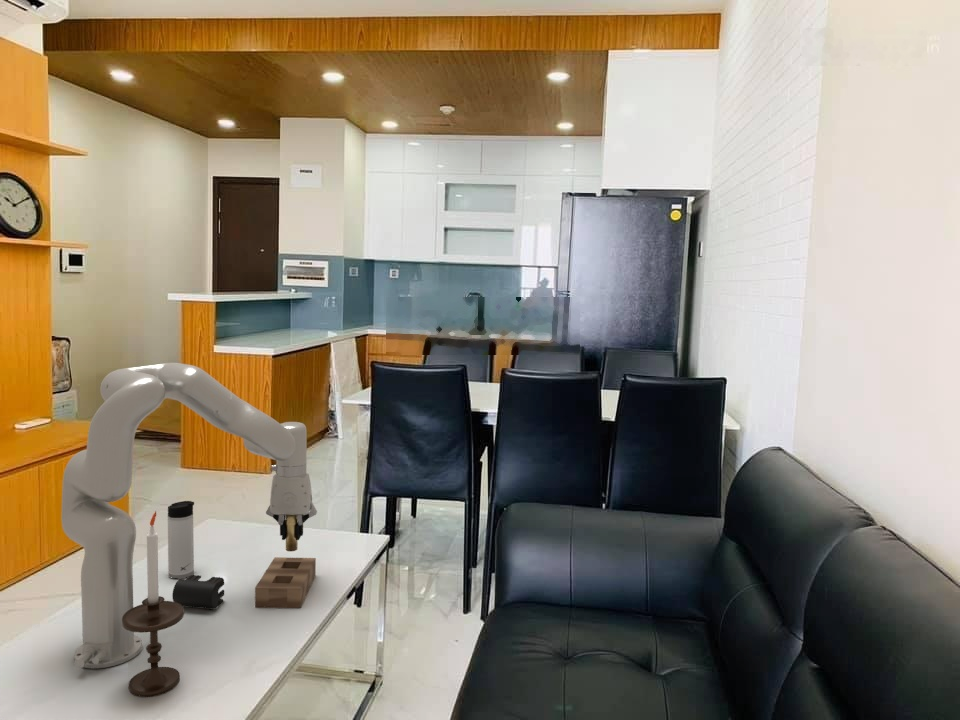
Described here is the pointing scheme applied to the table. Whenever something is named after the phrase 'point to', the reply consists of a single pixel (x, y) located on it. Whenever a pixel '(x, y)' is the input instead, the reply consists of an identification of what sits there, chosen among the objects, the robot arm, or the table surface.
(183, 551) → the travel mug
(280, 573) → the hole block
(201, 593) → the end cap
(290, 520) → the brass peg
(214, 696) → the table surface
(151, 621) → the candlestick
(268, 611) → the table surface
